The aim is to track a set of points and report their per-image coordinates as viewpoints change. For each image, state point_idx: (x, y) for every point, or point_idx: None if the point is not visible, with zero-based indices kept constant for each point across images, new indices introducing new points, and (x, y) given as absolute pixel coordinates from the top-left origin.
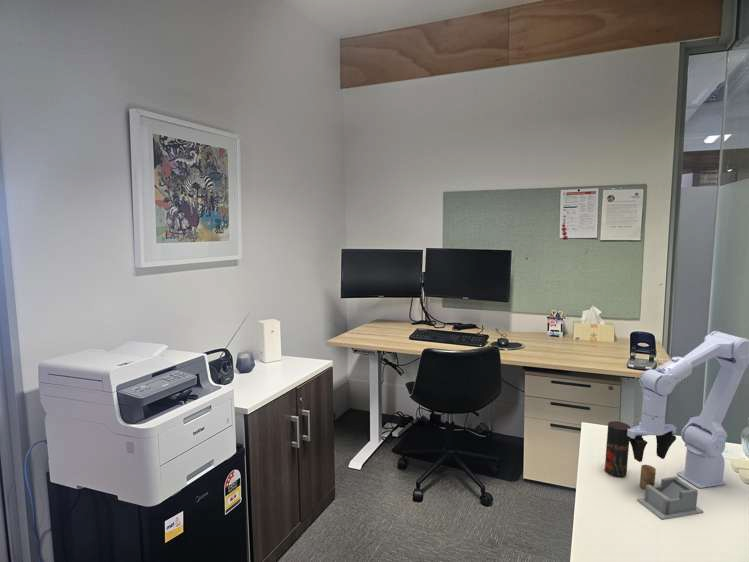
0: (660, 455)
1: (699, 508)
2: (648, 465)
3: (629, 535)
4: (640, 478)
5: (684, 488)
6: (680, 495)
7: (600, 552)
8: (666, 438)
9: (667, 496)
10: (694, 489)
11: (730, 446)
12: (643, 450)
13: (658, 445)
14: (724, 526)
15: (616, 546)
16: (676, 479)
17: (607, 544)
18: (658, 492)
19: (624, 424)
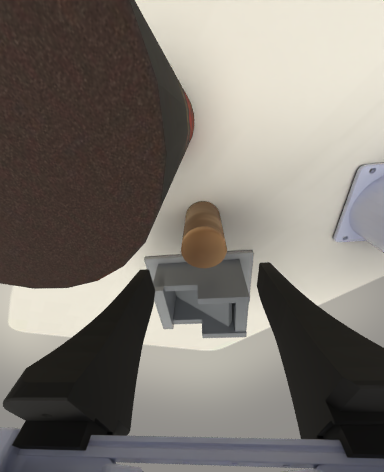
0: (260, 285)
1: (249, 295)
2: (217, 237)
3: (87, 317)
4: (185, 222)
5: (234, 313)
6: (202, 327)
7: (37, 331)
8: (304, 415)
9: (195, 292)
10: (242, 334)
11: None
12: (138, 352)
13: (281, 305)
14: (248, 321)
15: (61, 327)
16: (240, 301)
17: (50, 324)
18: (163, 312)
19: (84, 90)
